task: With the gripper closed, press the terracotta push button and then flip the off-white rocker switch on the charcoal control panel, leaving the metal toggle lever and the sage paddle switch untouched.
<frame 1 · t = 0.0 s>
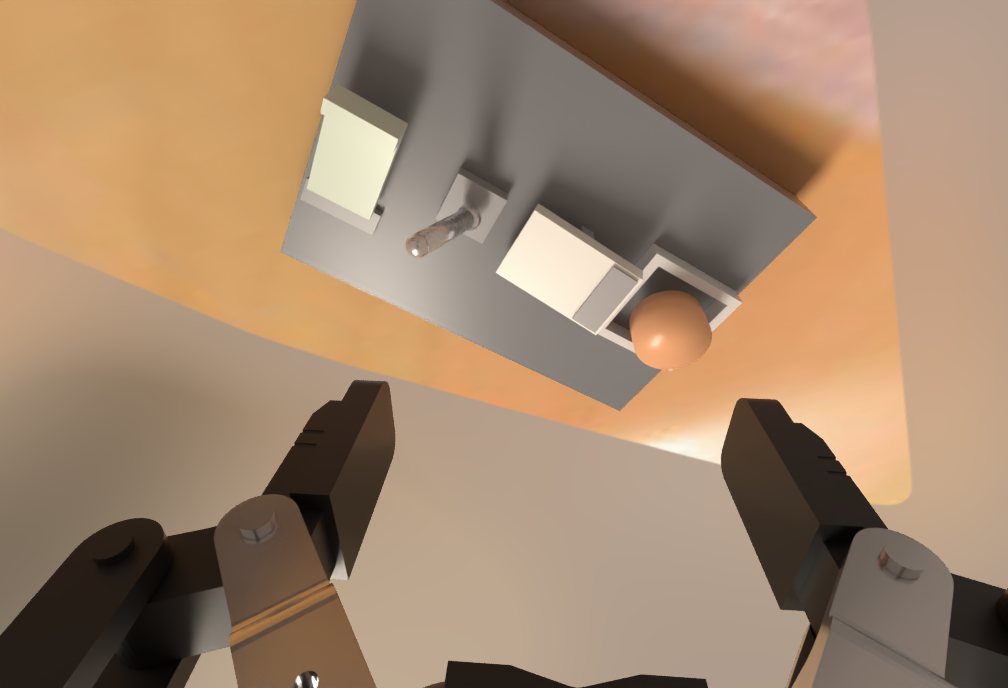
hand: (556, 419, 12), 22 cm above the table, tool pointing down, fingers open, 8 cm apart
control panel: (533, 214, 33), on the table
toggle lever: (457, 223, 26), point 6 cm above the table, hinge at 20.0°
paddle switch: (351, 161, 26), point 5 cm above the table, hinge at 12.0°
rocker switch: (568, 272, 29), point 5 cm above the table, hinge at 10.0°
push button: (668, 330, 30), point 6 cm above the table, slide at 0.0 cm
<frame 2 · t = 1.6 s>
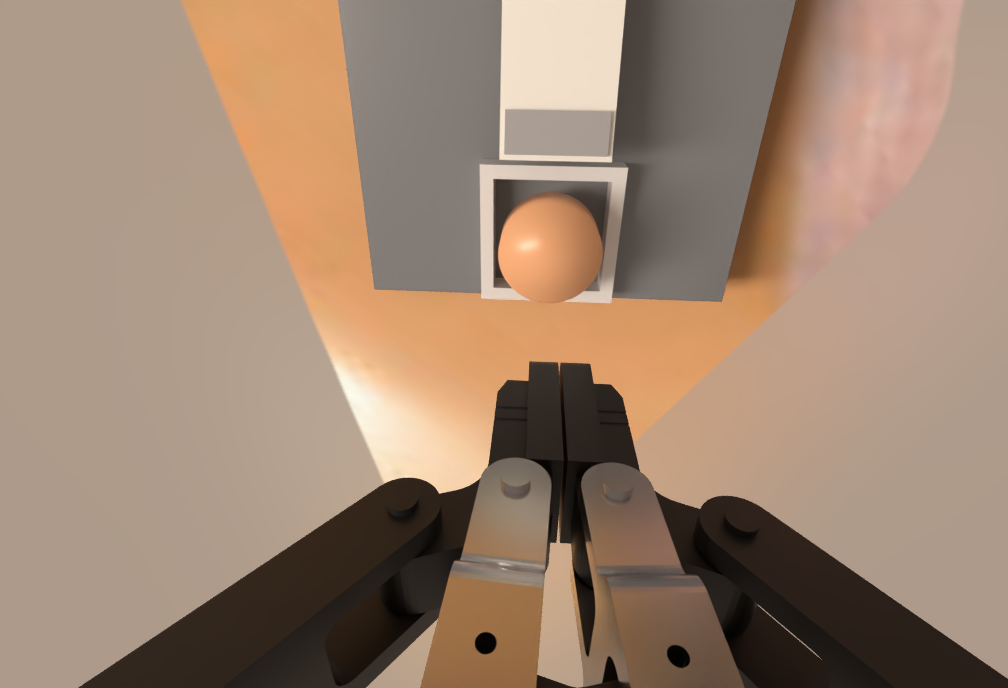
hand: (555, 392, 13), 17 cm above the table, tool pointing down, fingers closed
rocker switch: (559, 62, 19), point 5 cm above the table, hinge at 10.0°
push button: (549, 248, 22), point 6 cm above the table, slide at 0.0 cm
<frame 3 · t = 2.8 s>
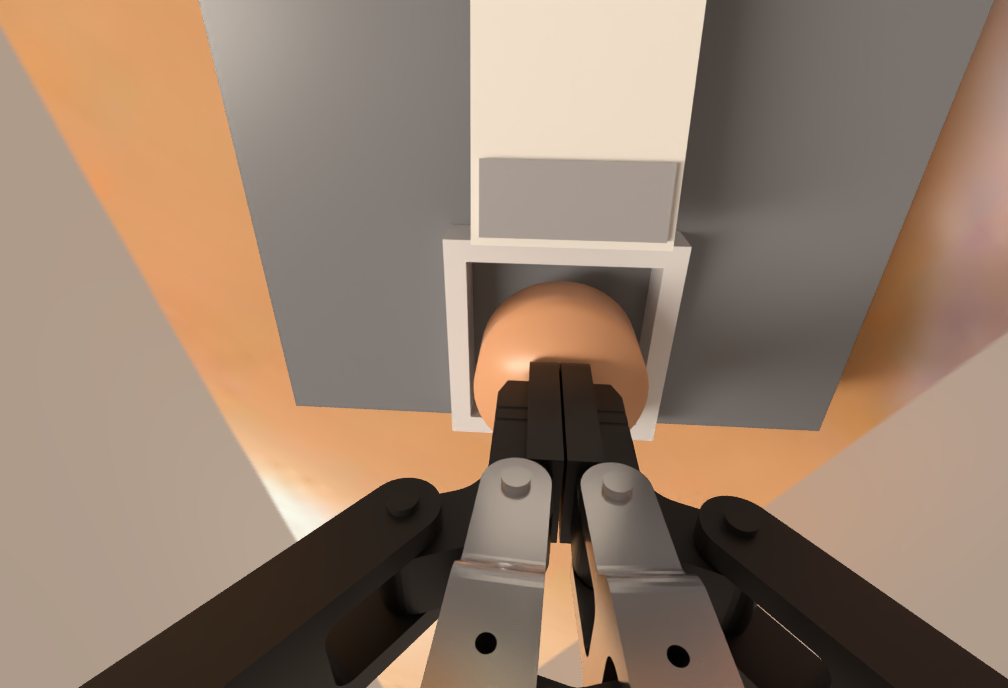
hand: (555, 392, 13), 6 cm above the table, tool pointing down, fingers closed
rocker switch: (580, 72, 10), point 5 cm above the table, hinge at 10.0°
push button: (558, 370, 14), point 5 cm above the table, slide at 0.3 cm, touching gripper
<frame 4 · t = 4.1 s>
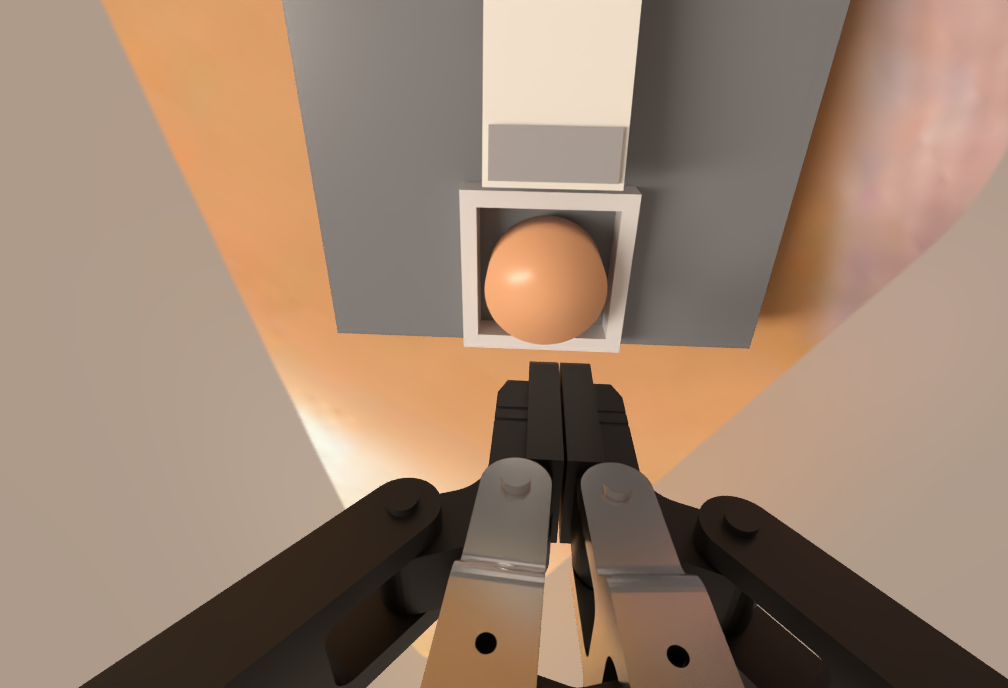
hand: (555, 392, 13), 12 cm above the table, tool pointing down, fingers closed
rocker switch: (558, 65, 15), point 5 cm above the table, hinge at 10.0°
push button: (545, 280, 19), point 5 cm above the table, slide at 1.1 cm
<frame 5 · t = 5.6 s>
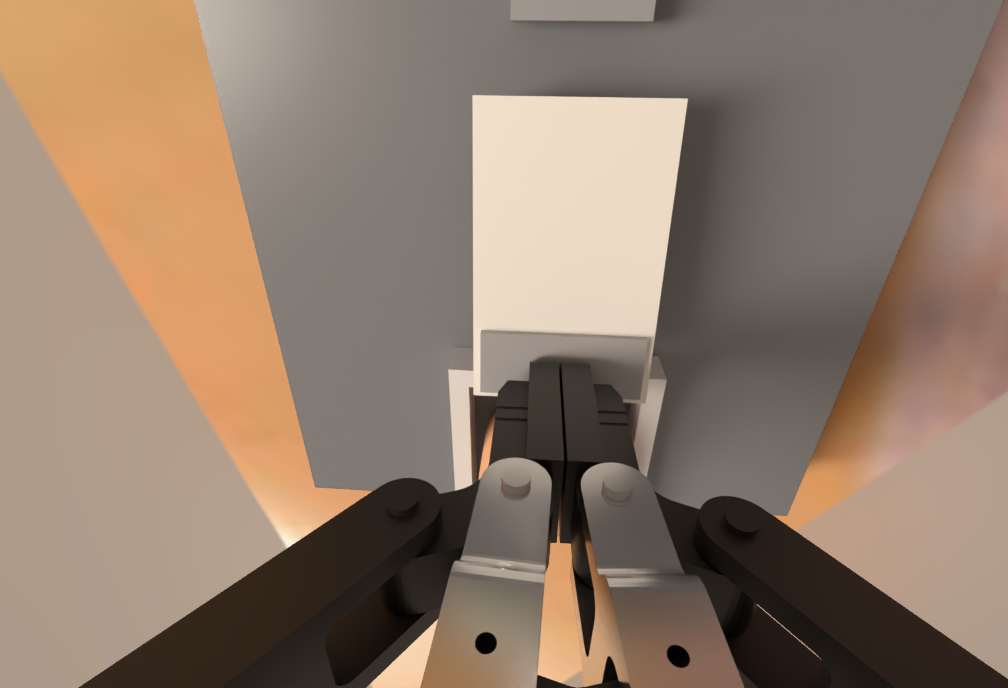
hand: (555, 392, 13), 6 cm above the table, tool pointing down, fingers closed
control panel: (566, 123, 15), on the table
rocker switch: (566, 260, 12), point 5 cm above the table, hinge at 8.6°, touching gripper
push button: (550, 463, 16), point 5 cm above the table, slide at 1.1 cm
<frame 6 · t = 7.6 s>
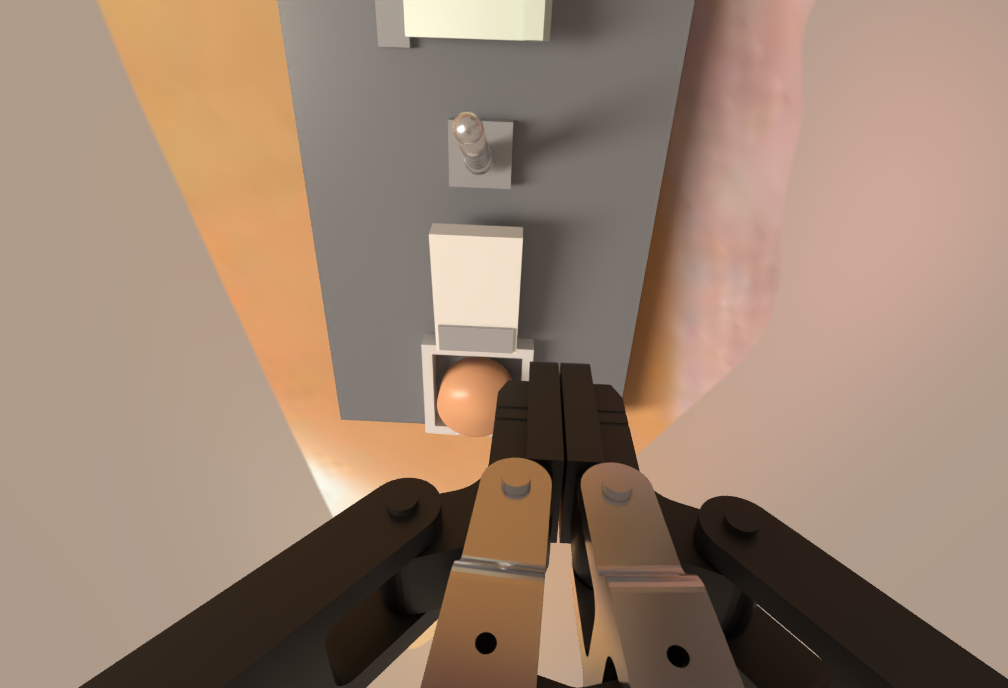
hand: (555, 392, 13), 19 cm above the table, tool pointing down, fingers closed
control panel: (484, 216, 30), on the table
toggle lever: (476, 152, 22), point 6 cm above the table, hinge at 20.0°
rocker switch: (476, 293, 26), point 5 cm above the table, hinge at -8.9°
push button: (476, 397, 30), point 5 cm above the table, slide at 1.1 cm
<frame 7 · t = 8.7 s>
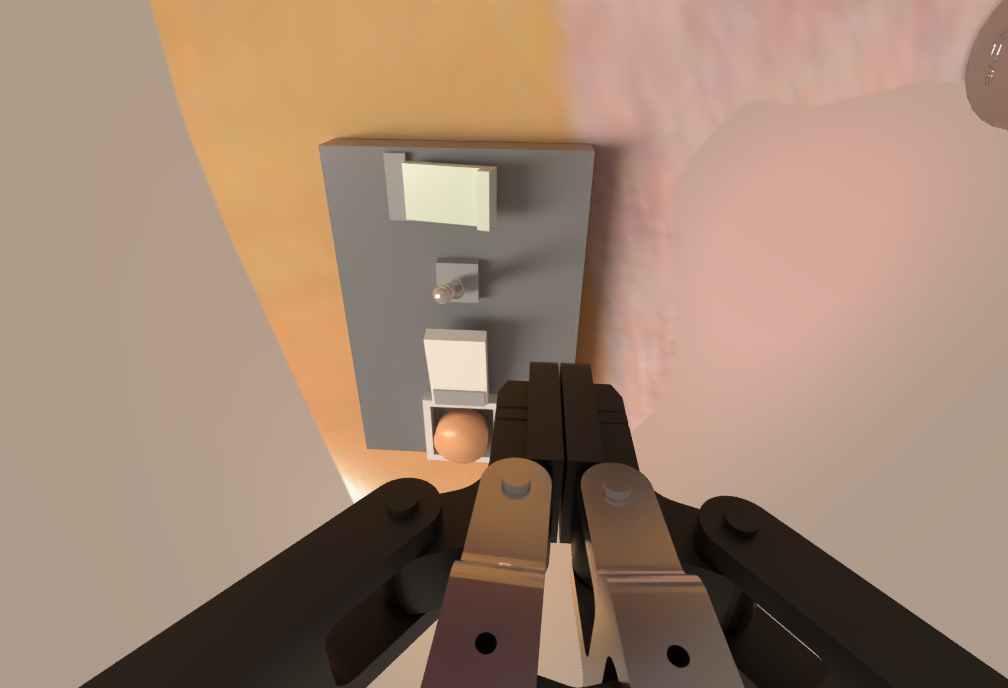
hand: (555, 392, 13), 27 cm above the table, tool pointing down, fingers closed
control panel: (466, 309, 42), on the table
toggle lever: (452, 290, 34), point 6 cm above the table, hinge at 20.0°
paddle switch: (447, 195, 32), point 5 cm above the table, hinge at 12.0°
rocker switch: (458, 370, 39), point 5 cm above the table, hinge at -13.0°
push button: (461, 435, 43), point 5 cm above the table, slide at 1.1 cm
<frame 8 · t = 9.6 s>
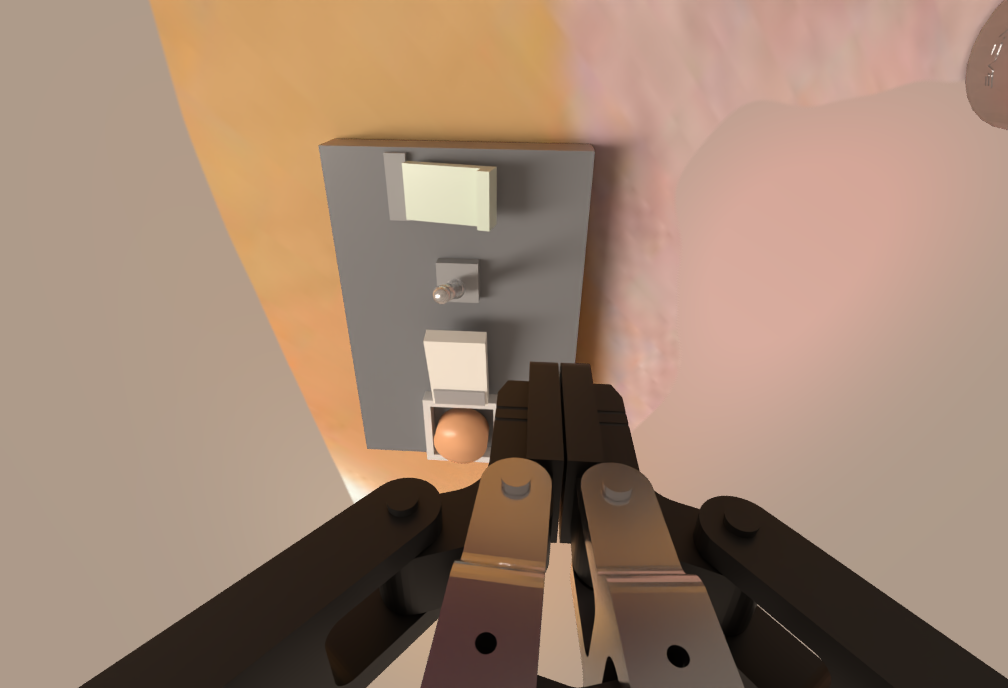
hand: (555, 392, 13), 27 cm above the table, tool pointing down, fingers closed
control panel: (466, 309, 42), on the table
toggle lever: (452, 290, 34), point 6 cm above the table, hinge at 20.0°
paddle switch: (447, 195, 32), point 5 cm above the table, hinge at 12.0°
rocker switch: (458, 370, 39), point 5 cm above the table, hinge at -15.1°
push button: (462, 435, 43), point 5 cm above the table, slide at 1.1 cm
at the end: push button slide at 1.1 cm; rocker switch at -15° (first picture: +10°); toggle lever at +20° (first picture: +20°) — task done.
